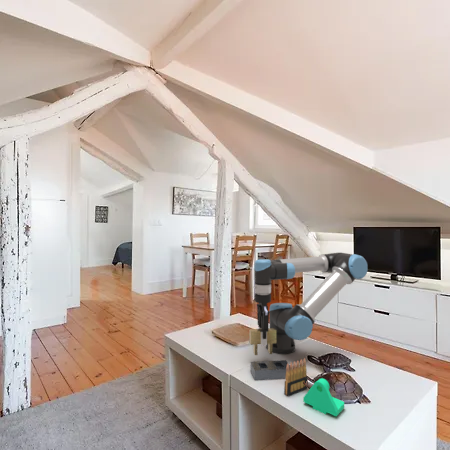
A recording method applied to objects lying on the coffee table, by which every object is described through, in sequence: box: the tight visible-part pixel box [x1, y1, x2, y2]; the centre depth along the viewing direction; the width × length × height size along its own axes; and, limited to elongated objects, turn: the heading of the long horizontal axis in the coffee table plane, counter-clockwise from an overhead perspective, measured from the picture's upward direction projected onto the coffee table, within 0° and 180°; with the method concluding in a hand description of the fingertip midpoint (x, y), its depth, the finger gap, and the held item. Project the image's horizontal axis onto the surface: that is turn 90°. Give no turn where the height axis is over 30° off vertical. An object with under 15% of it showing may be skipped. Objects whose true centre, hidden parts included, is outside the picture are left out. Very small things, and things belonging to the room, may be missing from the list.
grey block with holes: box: [250, 359, 290, 381], centre depth 130 cm, size 16×8×4 cm, turn 98°
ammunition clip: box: [283, 357, 309, 398], centre depth 117 cm, size 11×2×12 cm, turn 122°
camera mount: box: [302, 377, 345, 417], centre depth 108 cm, size 12×8×10 cm, turn 47°
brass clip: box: [248, 328, 276, 356], centre depth 141 cm, size 12×3×11 cm, turn 98°
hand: (262, 343), depth 141 cm, fingers closed on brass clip, 3 cm apart
